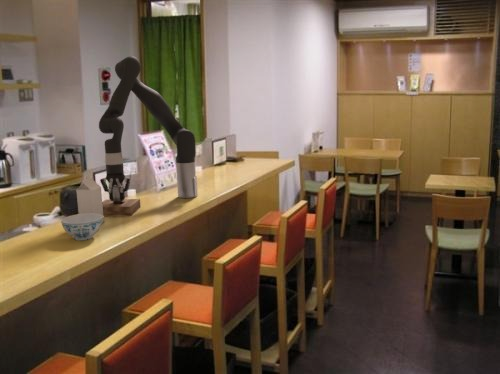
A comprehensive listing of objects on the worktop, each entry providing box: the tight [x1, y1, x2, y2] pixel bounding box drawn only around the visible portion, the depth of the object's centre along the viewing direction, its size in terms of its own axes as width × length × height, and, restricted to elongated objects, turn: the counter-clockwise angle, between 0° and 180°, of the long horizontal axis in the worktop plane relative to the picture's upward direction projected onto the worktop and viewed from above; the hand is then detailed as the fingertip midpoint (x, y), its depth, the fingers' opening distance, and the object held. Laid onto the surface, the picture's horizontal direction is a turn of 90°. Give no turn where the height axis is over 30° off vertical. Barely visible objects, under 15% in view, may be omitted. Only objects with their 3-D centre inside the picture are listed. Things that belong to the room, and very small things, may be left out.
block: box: [102, 198, 142, 217], centre depth 261 cm, size 16×16×4 cm
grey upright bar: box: [112, 185, 122, 204], centre depth 260 cm, size 4×4×10 cm
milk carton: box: [75, 176, 105, 224], centre depth 240 cm, size 7×7×19 cm
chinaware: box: [60, 213, 103, 241], centre depth 220 cm, size 15×15×8 cm
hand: (117, 200), depth 261 cm, fingers closed on grey upright bar, 4 cm apart
